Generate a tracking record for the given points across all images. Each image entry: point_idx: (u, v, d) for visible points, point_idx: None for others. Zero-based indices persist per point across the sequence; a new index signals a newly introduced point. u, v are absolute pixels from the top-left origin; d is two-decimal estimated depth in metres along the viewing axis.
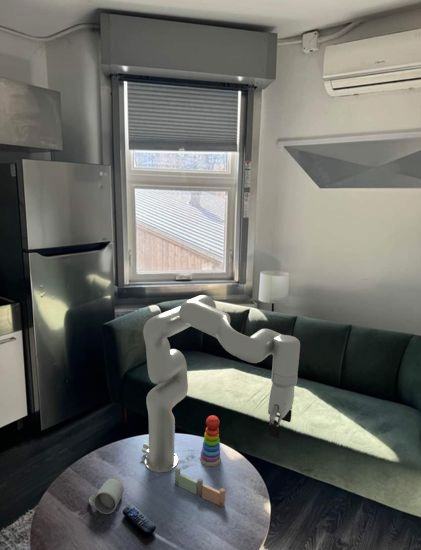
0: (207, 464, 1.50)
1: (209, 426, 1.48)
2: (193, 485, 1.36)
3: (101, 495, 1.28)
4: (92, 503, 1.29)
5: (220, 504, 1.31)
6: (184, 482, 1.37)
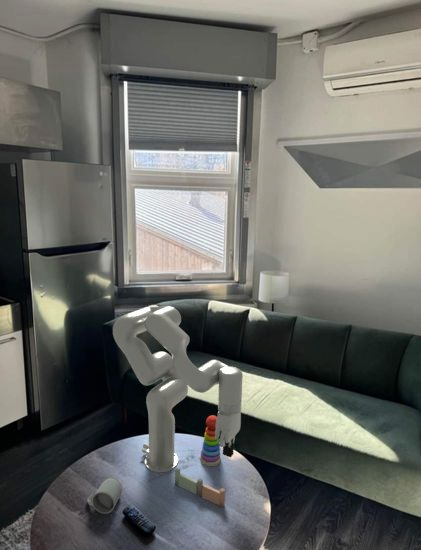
0: (207, 464, 1.50)
1: (209, 426, 1.48)
2: (193, 485, 1.36)
3: (99, 495, 1.28)
4: (90, 503, 1.29)
5: (220, 504, 1.31)
6: (184, 482, 1.37)
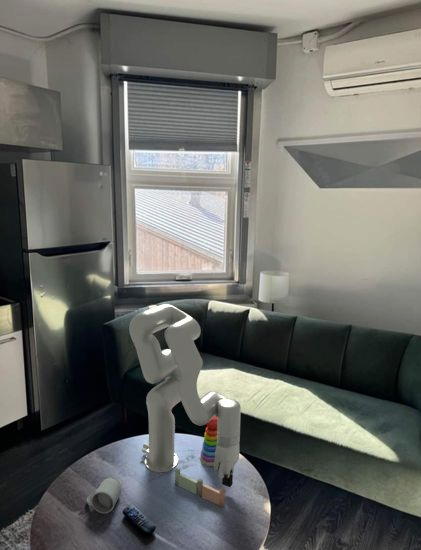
0: (207, 464, 1.50)
1: (209, 426, 1.48)
2: (193, 485, 1.36)
3: (99, 495, 1.28)
4: (90, 503, 1.29)
5: (220, 504, 1.31)
6: (184, 482, 1.37)
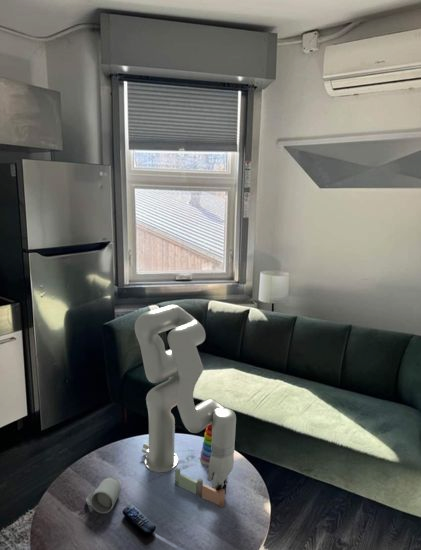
0: (207, 464, 1.50)
1: (209, 426, 1.48)
2: (193, 485, 1.36)
3: (98, 494, 1.28)
4: (89, 502, 1.29)
5: (220, 504, 1.31)
6: (184, 482, 1.37)
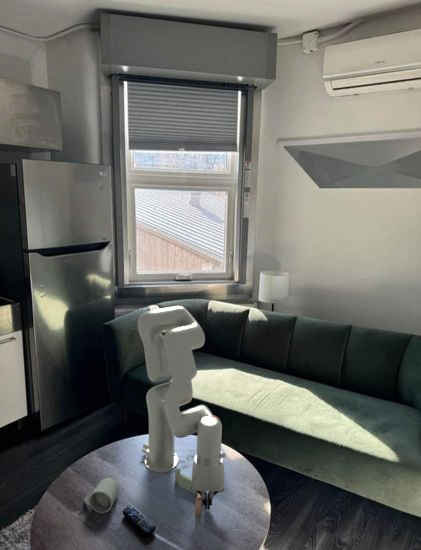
0: None
1: None
2: None
3: (97, 494, 1.28)
4: (88, 502, 1.29)
5: None
6: (184, 482, 1.37)
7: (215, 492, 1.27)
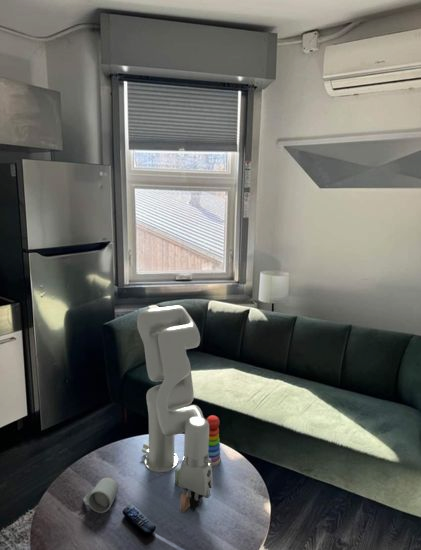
0: None
1: (209, 426, 1.48)
2: None
3: (96, 494, 1.28)
4: (87, 502, 1.29)
5: None
6: None
7: (200, 495, 1.25)
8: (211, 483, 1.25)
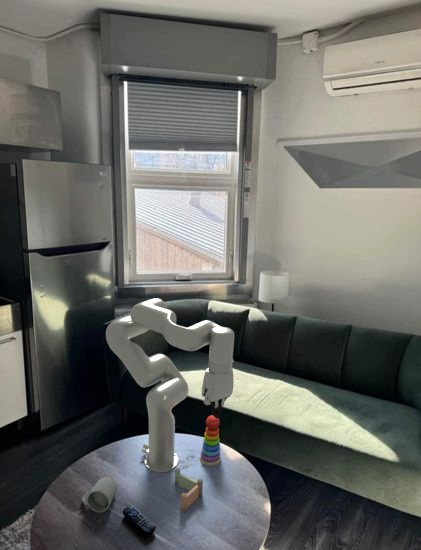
0: (207, 464, 1.50)
1: (209, 426, 1.48)
2: (193, 485, 1.36)
3: (94, 494, 1.29)
4: (85, 502, 1.29)
5: None
6: (184, 482, 1.37)
7: (224, 399, 1.33)
8: None
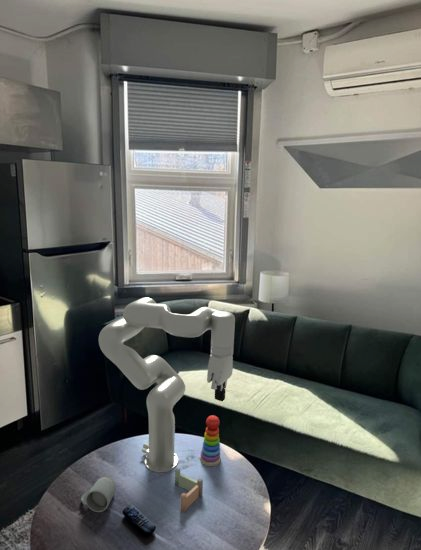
0: (207, 464, 1.50)
1: (209, 426, 1.48)
2: (193, 485, 1.36)
3: (93, 493, 1.29)
4: (84, 501, 1.29)
5: None
6: (184, 482, 1.37)
7: (226, 381, 1.37)
8: None
